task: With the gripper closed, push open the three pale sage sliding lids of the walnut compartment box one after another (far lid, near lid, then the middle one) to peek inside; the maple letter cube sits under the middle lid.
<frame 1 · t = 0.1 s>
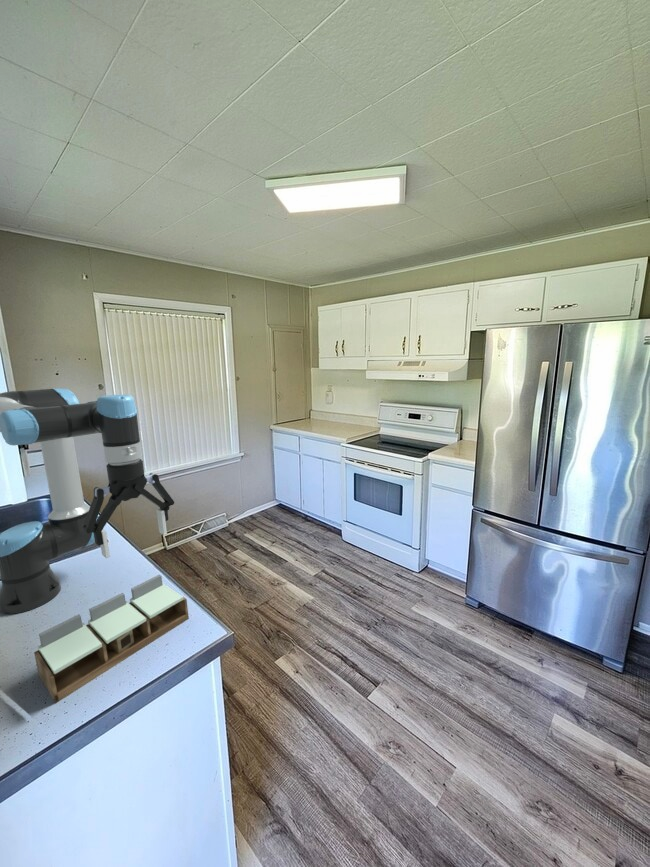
hand: (136, 544, 87), 28 cm above the counter, fingers open, 13 cm apart
letter cube: (121, 645, 90), point 1 cm above the counter, touching box
lid c: (156, 594, 97), point 9 cm above the counter, slide at 0.0 cm
lid a: (69, 640, 81), point 9 cm above the counter, slide at 0.0 cm
box: (121, 646, 91), on the counter
lid b: (116, 615, 89), point 9 cm above the counter, slide at 0.0 cm
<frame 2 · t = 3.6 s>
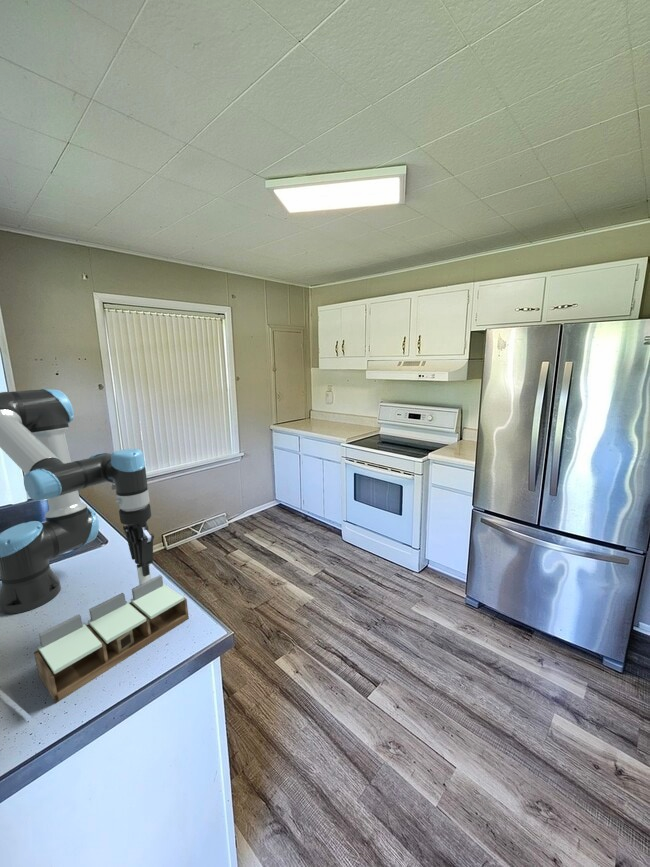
hand: (145, 584, 100), 10 cm above the counter, fingers closed
lid c: (156, 594, 97), point 9 cm above the counter, slide at 0.4 cm, touching gripper
everything else where it was.
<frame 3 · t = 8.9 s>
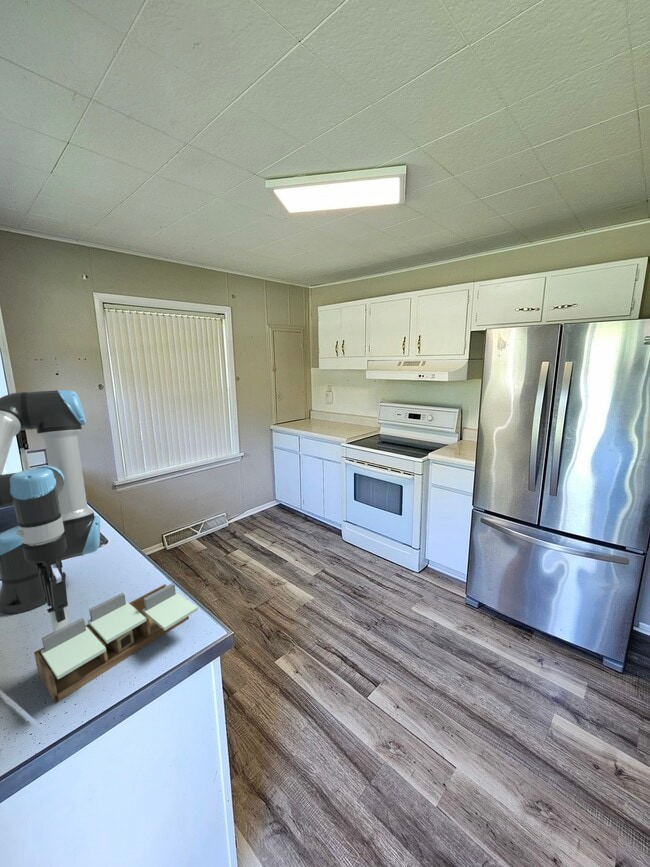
hand: (61, 630, 83), 10 cm above the counter, fingers closed
lid c: (169, 604, 92), point 9 cm above the counter, slide at 7.1 cm
lid a: (72, 645, 80), point 9 cm above the counter, slide at 2.2 cm, touching gripper
everything else where it was.
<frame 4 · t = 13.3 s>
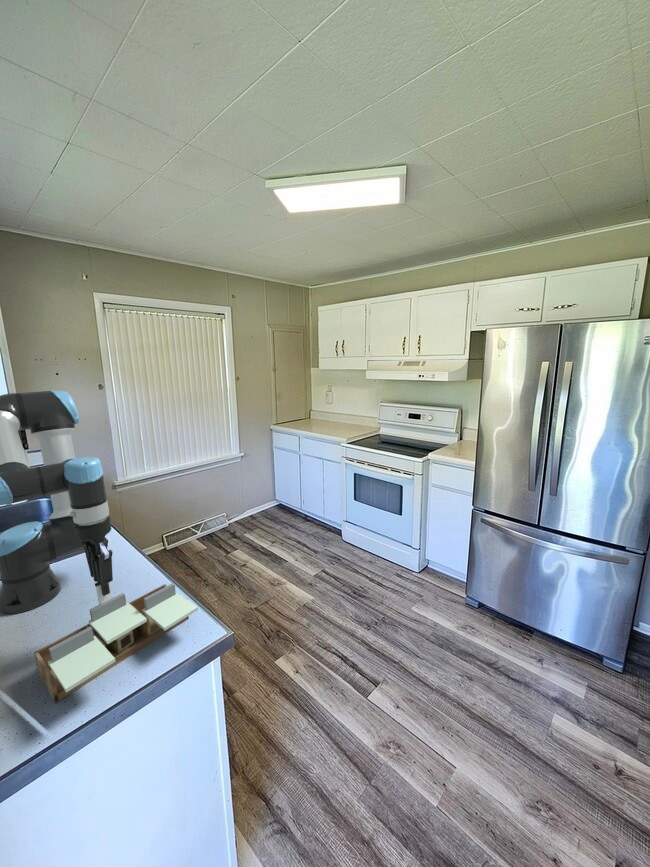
hand: (106, 603, 92), 10 cm above the counter, fingers closed
lid a: (80, 655, 77), point 9 cm above the counter, slide at 7.1 cm
lid b: (116, 615, 89), point 9 cm above the counter, slide at 0.3 cm, touching gripper
everything else where it was.
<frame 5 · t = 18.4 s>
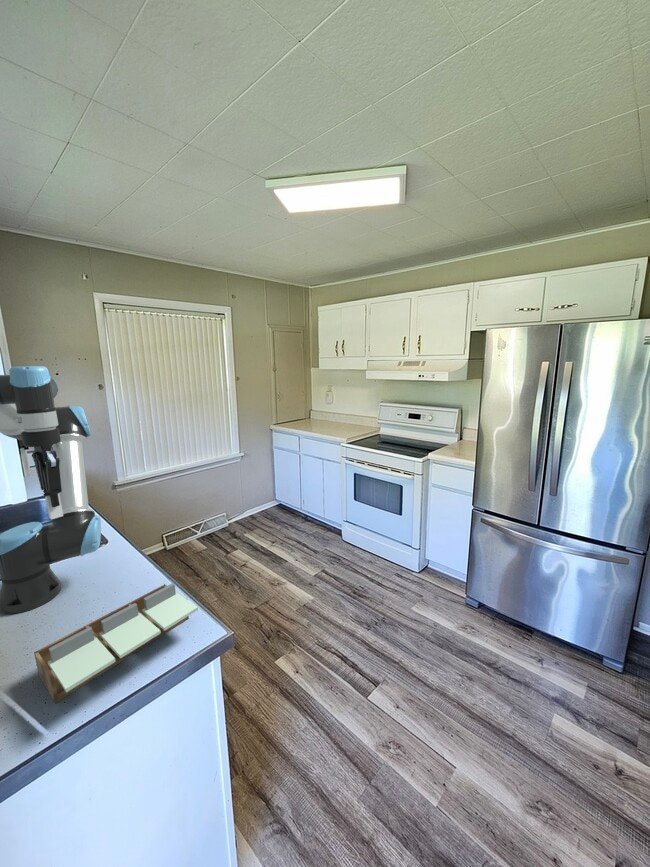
hand: (56, 517, 93), 32 cm above the counter, fingers closed
lid b: (129, 627, 85), point 9 cm above the counter, slide at 7.1 cm
everything else where it was.
at the end: lid c slide at 7.1 cm; lid a slide at 7.1 cm; lid b slide at 7.1 cm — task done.
